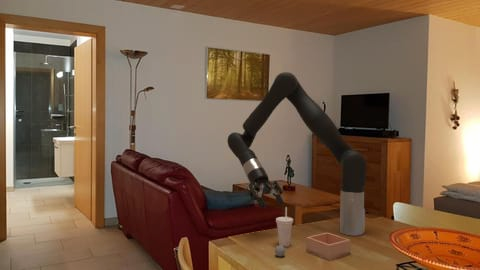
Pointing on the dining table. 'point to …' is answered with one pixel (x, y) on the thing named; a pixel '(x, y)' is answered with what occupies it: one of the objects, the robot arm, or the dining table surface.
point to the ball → (279, 250)
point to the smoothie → (284, 229)
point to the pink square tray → (328, 246)
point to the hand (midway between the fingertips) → (273, 206)
